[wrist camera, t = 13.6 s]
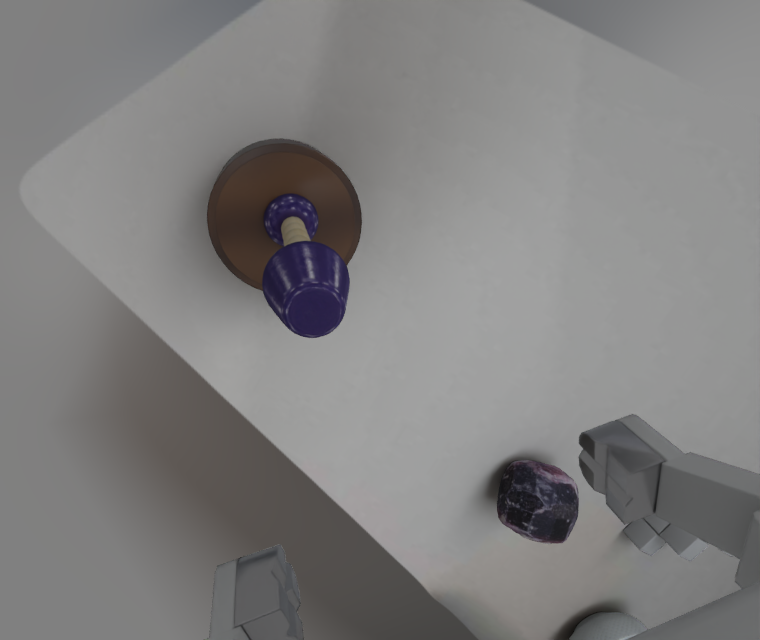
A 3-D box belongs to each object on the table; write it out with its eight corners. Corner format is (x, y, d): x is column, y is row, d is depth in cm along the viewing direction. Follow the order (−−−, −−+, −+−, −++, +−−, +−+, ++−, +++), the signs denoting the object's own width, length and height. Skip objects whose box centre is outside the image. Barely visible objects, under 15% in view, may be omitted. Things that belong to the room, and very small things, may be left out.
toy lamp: (323, 248, 37) (369, 342, 22) (266, 258, 36) (276, 363, 22) (312, 188, 35) (356, 250, 20) (252, 199, 34) (251, 270, 19)
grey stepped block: (622, 530, 76) (659, 573, 69) (674, 480, 73) (718, 520, 66) (656, 548, 81) (694, 590, 74) (706, 502, 79) (750, 541, 72)
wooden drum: (188, 159, 36) (179, 167, 32) (331, 122, 38) (341, 125, 33) (241, 290, 42) (240, 313, 38) (363, 254, 44) (376, 271, 39)
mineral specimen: (471, 497, 60) (531, 537, 51) (513, 435, 63) (577, 463, 54) (504, 531, 64) (565, 573, 56) (542, 471, 67) (605, 503, 59)
